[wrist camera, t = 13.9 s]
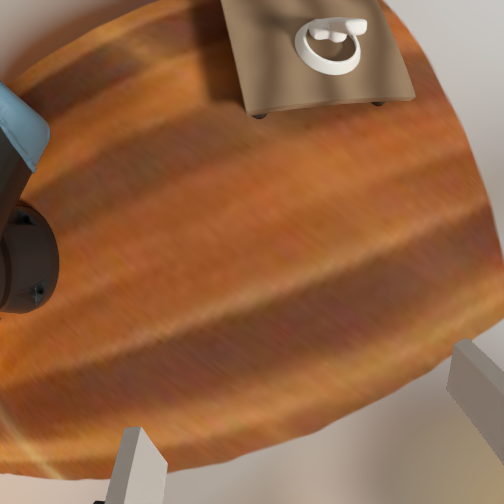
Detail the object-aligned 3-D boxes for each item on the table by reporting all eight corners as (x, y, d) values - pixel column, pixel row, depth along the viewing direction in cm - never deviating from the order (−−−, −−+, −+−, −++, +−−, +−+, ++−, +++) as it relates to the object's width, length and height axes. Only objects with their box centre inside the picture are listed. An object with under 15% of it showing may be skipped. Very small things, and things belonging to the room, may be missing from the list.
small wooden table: (245, 129, 37) (246, 111, 30) (220, 16, 35) (218, -12, 28) (393, 112, 37) (416, 96, 30) (355, 8, 35) (368, -16, 29)
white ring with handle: (328, 101, 25) (302, 29, 21) (302, 76, 34) (282, 25, 30) (402, 82, 24) (384, 11, 19) (358, 60, 33) (342, 10, 28)
